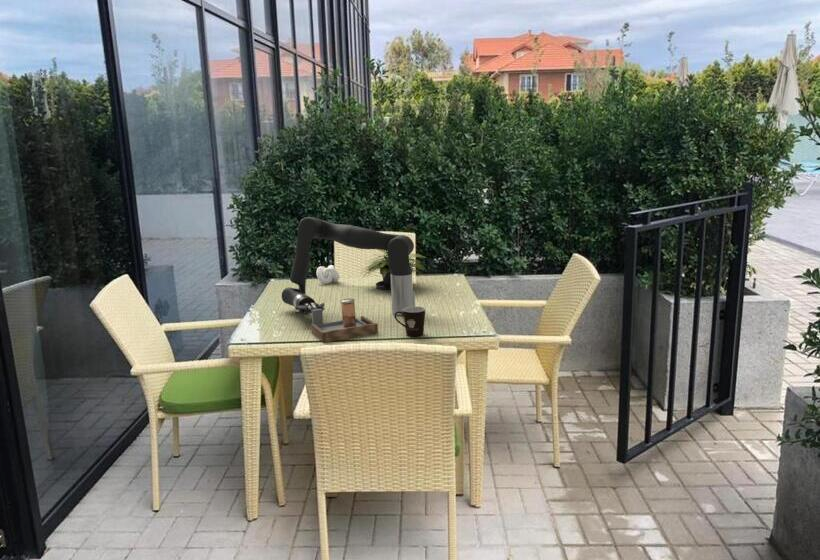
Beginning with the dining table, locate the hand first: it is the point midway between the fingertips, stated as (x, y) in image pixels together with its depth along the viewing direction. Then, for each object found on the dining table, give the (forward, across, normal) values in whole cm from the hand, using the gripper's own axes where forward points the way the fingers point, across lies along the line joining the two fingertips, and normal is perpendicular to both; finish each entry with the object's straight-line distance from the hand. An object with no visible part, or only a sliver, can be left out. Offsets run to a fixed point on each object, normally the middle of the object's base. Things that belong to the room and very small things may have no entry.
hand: (316, 313), depth 253 cm
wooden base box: (+12, +7, +6) cm, 15 cm away
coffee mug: (+26, +29, +7) cm, 40 cm away
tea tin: (+8, +11, +5) cm, 15 cm away
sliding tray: (+8, +7, +6) cm, 12 cm away
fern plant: (-52, +57, +7) cm, 77 cm away
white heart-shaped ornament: (-82, +32, +7) cm, 88 cm away
